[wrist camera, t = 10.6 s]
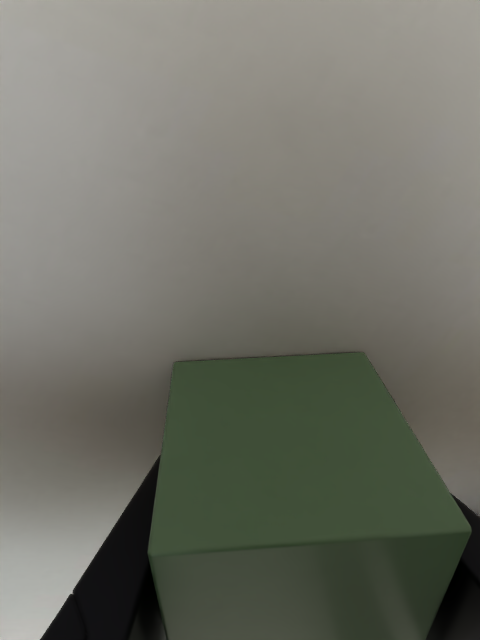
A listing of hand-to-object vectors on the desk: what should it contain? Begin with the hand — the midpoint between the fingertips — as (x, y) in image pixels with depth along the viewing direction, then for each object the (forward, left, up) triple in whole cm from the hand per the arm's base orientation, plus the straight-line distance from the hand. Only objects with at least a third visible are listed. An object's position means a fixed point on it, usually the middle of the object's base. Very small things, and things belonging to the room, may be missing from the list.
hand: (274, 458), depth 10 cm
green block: (0, 0, -1) cm, 1 cm away
